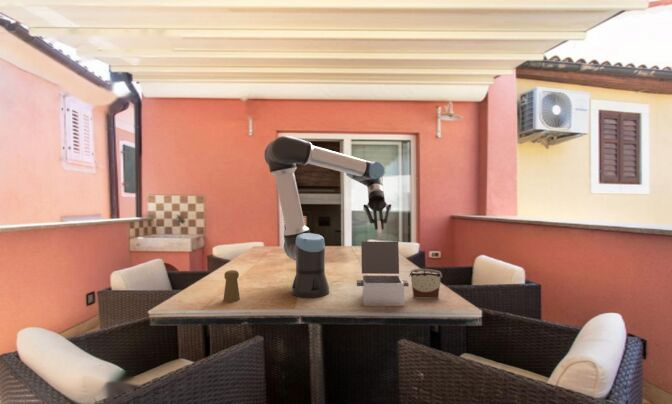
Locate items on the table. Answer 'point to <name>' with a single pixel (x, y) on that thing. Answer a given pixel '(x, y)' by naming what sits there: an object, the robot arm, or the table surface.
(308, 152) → the robot arm
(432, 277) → the food container
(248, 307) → the table surface
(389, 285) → the rectangular cooking pot
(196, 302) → the table surface
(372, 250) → the pot lid
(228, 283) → the cork
